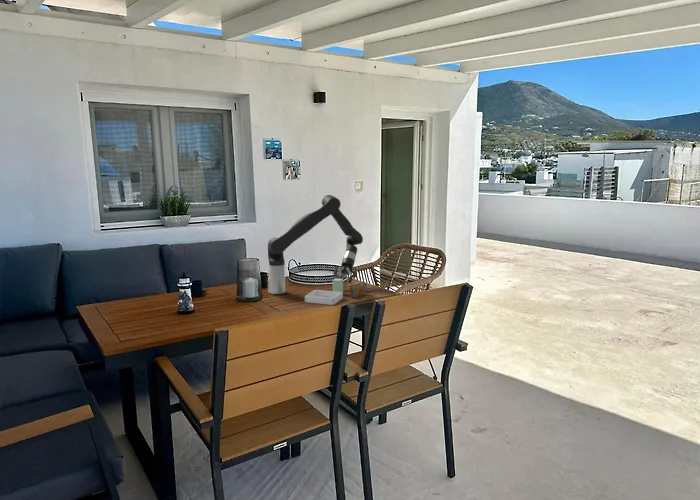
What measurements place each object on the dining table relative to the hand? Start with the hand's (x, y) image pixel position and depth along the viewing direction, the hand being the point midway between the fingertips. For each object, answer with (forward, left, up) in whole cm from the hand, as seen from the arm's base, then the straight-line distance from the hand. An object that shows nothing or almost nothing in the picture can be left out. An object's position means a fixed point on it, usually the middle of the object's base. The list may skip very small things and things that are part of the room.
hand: (342, 281), depth 294 cm
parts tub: (-2, -25, -6) cm, 26 cm away
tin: (+13, -9, -6) cm, 17 cm away
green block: (0, -8, -6) cm, 10 cm away
